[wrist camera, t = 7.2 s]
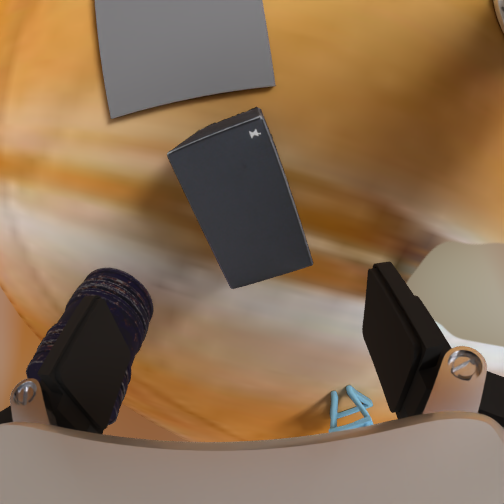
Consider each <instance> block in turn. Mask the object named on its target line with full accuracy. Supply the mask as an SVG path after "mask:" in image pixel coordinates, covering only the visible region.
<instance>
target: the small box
mask: <svg viewBox="0 0 504 504" xmlns="http://www.w3.org/2000/svg"><path fill="white" fill-rule="evenodd" d="M167 156H168V159H169V161H170V163H171V165H172V167H173V170H174V172H175V174H176V176H177V178H178V180H179V182H180V184H181V186H182V189H183V191H184V193H185V195H186V197H187V199H188V201H189V203H190V205H191V208H192V210H193V212H194V214H195V216H196V218H197V220H198V222H199V224H200V226H201V228H202V230H203V233H204V235H205V237H206V239H207V241H208V243H209V245H210V247H211V249H212V251H213V253H214V255H215V257H216V259H217V261H218V263H219V266H220V268H221V270H222V272H223V274H224V276H225V278H226V280H227V282H228V284H229V286H230V288H231V289H234V288H239V287H243V286H246V285H250V284H253V283H256V282H260V281H263V280H267V279H270V278H273V277H276V276H280V275H283V274H286V273H289V272H293V271H296V270H299V269H302V268H305V267H308V266H311V265H313V261H312V257H311V254H310V250H309V247H308V244H307V241H306V238H305V234H304V231H303V228H302V225H301V221H300V218H299V215H298V212H297V209H296V206H295V203H294V200H293V196H292V193H291V190H290V188H289V184H288V181H287V179H286V176H285V173H284V170H283V167H282V164H281V161H280V158H279V155H278V153H277V149H276V146H275V144H274V142H273V138H272V135H271V134H270V131H269V128H268V126H267V124H266V121H265V119H264V116H263V114H262V111H261V109H260V108H257V107H255V108H253V109H251V110H249V111H247V112H242V113H241V114H237V115H236V116H233V117H231V118H228V119H225V120H222V121H220V122H218V123H213V124H211V125H209V126H207V127H205V128H203V129H201V130H199V131H197V132H196V133H195V134H193V135H192V136H190V137H189V138H188V139H186V140H185V141H183V142H182V143H181V144H179V145H178V146H177V147H175V148H174V149H173V150H171V151H169V152H168V154H167Z"/></svg>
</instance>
